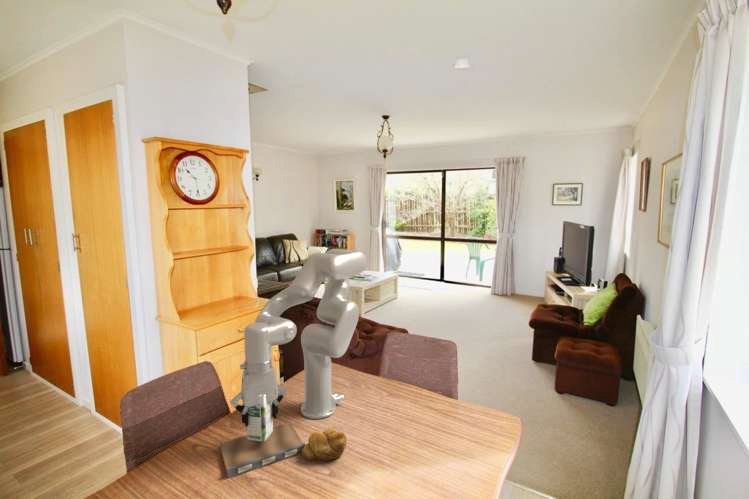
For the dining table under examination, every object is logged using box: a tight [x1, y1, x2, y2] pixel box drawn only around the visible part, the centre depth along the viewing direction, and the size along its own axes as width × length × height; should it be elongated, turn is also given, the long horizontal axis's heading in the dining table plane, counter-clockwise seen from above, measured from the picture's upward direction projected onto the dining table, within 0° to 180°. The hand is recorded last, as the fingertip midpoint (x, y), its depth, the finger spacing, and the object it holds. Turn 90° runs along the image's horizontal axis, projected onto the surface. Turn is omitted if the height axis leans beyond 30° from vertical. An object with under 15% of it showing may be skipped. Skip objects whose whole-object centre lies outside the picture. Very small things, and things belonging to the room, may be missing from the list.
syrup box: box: [247, 394, 274, 442], centre depth 114 cm, size 6×6×14 cm
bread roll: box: [302, 427, 347, 462], centre depth 112 cm, size 13×10×8 cm
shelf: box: [219, 421, 306, 479], centre depth 114 cm, size 22×15×2 cm
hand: (260, 420), depth 114 cm, fingers closed on syrup box, 7 cm apart
